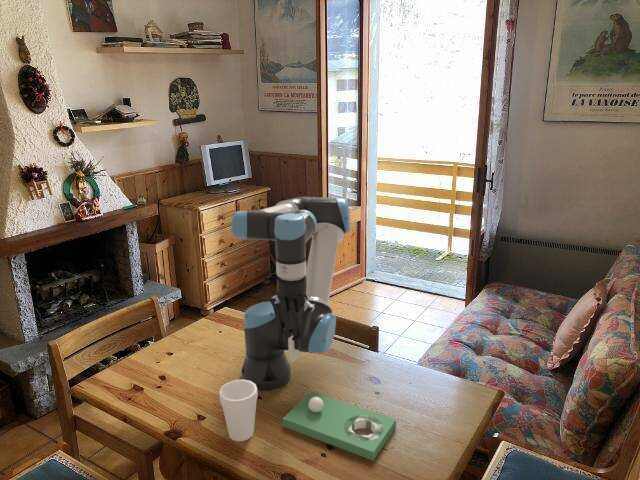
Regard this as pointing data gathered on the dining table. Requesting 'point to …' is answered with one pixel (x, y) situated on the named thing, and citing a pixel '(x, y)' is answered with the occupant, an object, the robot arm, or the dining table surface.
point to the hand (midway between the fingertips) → (294, 358)
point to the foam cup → (239, 408)
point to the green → (341, 425)
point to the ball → (316, 404)
